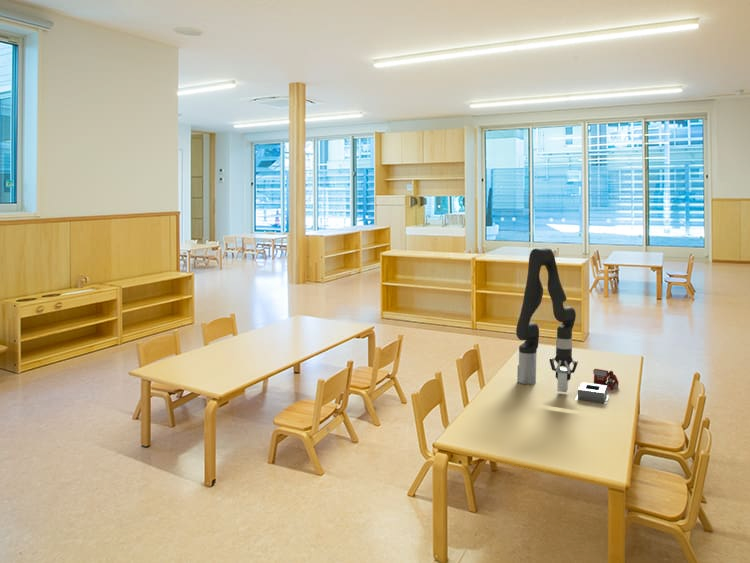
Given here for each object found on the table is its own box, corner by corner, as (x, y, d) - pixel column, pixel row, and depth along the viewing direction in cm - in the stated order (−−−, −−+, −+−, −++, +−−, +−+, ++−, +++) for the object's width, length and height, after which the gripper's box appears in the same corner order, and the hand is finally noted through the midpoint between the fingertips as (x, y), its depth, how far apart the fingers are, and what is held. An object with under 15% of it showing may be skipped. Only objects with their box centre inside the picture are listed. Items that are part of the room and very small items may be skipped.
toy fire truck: (616, 393, 286) (617, 374, 284) (591, 389, 293) (591, 370, 291) (619, 389, 292) (620, 370, 290) (594, 385, 299) (595, 366, 297)
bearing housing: (575, 402, 275) (575, 389, 274) (579, 393, 287) (579, 381, 286) (605, 407, 268) (606, 394, 267) (608, 397, 281) (609, 385, 280)
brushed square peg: (557, 391, 282) (557, 370, 280) (558, 388, 286) (559, 367, 284) (566, 392, 280) (567, 371, 278) (567, 389, 284) (568, 368, 282)
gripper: (547, 346, 279) (546, 379, 282) (577, 350, 273) (576, 383, 275) (550, 343, 286) (549, 375, 289) (580, 346, 279) (579, 379, 282)
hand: (563, 379), depth 282 cm, fingers closed on brushed square peg, 4 cm apart
